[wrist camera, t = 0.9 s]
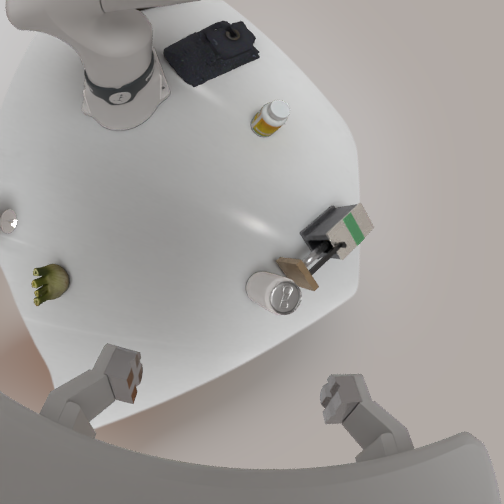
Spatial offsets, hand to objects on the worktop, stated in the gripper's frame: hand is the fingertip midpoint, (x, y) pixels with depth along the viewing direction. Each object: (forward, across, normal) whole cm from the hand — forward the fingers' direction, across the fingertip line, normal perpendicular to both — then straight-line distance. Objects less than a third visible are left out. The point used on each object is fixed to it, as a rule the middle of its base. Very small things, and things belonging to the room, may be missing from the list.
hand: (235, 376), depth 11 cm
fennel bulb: (+29, +32, +20) cm, 48 cm away
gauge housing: (+48, -19, +10) cm, 53 cm away
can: (+40, -6, +21) cm, 45 cm away
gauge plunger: (+42, -14, +14) cm, 46 cm away
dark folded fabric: (+59, +13, -27) cm, 66 cm away
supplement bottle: (+54, -2, -10) cm, 54 cm away
